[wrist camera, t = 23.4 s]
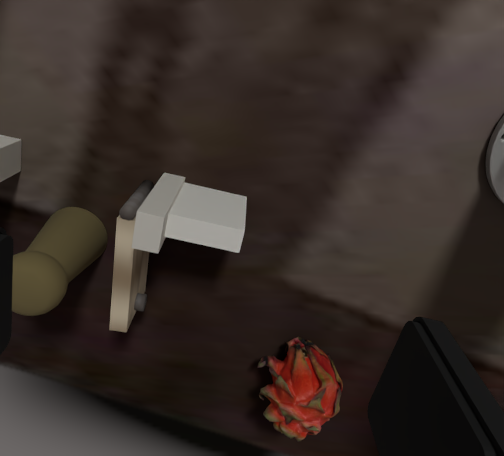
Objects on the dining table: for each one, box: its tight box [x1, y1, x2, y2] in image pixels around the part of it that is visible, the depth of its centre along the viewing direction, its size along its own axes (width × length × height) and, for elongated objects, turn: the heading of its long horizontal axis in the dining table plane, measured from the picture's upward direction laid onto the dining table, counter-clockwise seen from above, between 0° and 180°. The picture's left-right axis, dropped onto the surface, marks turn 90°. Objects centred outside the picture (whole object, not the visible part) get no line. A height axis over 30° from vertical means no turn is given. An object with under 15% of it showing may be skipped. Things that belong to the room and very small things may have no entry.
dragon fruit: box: [258, 337, 343, 441], centre depth 46 cm, size 8×8×12 cm
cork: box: [12, 207, 108, 316], centre depth 38 cm, size 6×6×11 cm
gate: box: [109, 180, 154, 332], centre depth 39 cm, size 12×2×7 cm, turn 169°
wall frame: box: [0, 135, 247, 254], centre depth 35 cm, size 31×3×10 cm, turn 76°
